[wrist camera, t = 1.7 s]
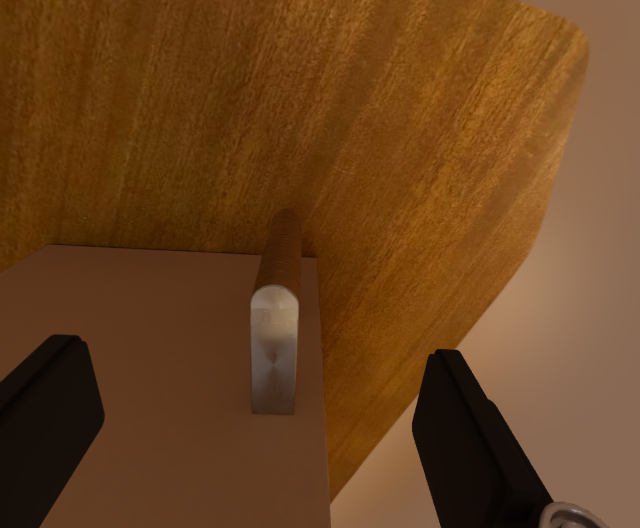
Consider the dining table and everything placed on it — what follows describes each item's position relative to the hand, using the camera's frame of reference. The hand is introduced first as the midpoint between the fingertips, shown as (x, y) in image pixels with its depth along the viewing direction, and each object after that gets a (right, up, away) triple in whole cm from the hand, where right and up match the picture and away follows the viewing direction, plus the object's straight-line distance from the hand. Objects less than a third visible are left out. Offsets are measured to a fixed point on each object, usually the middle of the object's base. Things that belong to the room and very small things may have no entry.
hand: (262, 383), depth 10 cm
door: (-10, +7, +21) cm, 25 cm away
